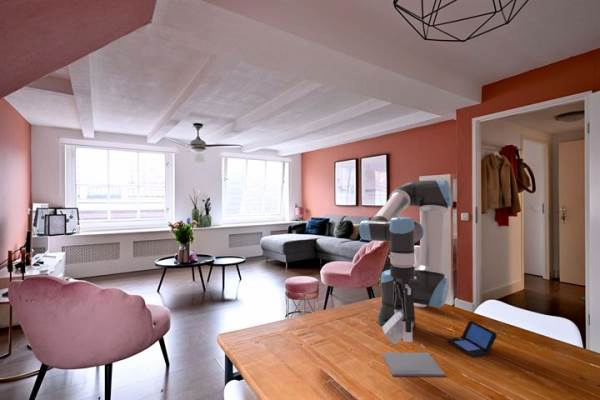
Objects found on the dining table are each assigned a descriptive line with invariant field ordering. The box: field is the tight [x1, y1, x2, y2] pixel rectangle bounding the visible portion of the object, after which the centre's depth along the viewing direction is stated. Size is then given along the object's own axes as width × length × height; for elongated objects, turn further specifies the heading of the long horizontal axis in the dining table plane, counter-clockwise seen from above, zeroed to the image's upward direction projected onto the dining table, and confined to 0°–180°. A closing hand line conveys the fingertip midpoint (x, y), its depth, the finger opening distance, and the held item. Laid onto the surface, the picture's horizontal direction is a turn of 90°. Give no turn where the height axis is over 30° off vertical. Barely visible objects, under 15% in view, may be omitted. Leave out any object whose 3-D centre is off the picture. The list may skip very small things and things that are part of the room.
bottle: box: [413, 245, 428, 308], centre depth 156 cm, size 8×8×30 cm
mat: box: [382, 352, 446, 377], centre depth 100 cm, size 13×16×1 cm
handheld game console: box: [447, 320, 497, 358], centre depth 111 cm, size 12×11×7 cm
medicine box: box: [381, 310, 414, 345], centre depth 99 cm, size 8×4×9 cm
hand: (403, 334), depth 99 cm, fingers closed on medicine box, 8 cm apart
